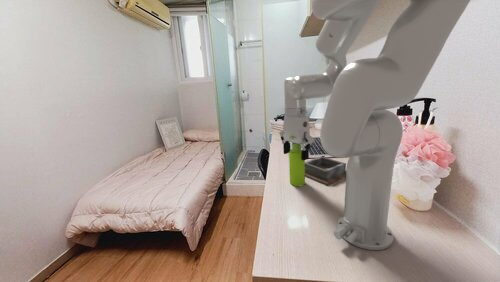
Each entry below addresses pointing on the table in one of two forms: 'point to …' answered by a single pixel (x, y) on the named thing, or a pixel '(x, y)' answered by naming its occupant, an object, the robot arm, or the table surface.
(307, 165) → the box
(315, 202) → the table surface
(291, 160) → the soap dispenser
